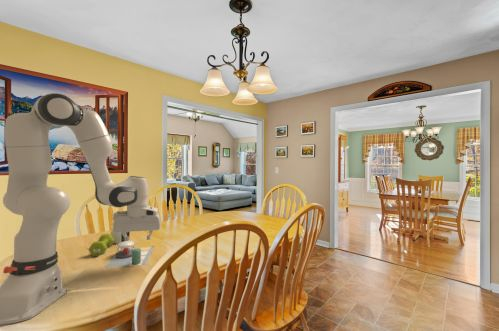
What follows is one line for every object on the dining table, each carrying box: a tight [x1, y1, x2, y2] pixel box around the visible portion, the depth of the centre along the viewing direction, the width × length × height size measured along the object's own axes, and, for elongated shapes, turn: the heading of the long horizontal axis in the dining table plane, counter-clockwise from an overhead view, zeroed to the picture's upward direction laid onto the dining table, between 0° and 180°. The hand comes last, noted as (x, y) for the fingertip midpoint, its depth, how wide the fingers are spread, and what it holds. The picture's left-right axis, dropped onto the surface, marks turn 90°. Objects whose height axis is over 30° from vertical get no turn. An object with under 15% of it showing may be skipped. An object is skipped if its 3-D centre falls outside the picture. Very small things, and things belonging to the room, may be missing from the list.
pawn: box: [132, 249, 141, 266], centre depth 110 cm, size 4×4×6 cm
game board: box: [104, 246, 155, 268], centre depth 118 cm, size 23×17×4 cm
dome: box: [116, 240, 135, 253], centre depth 119 cm, size 7×7×3 cm
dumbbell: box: [88, 233, 114, 257], centre depth 126 cm, size 16×8×7 cm, turn 14°
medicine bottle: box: [110, 230, 131, 245], centre depth 140 cm, size 7×7×12 cm
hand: (137, 240), depth 110 cm, fingers open, 8 cm apart
